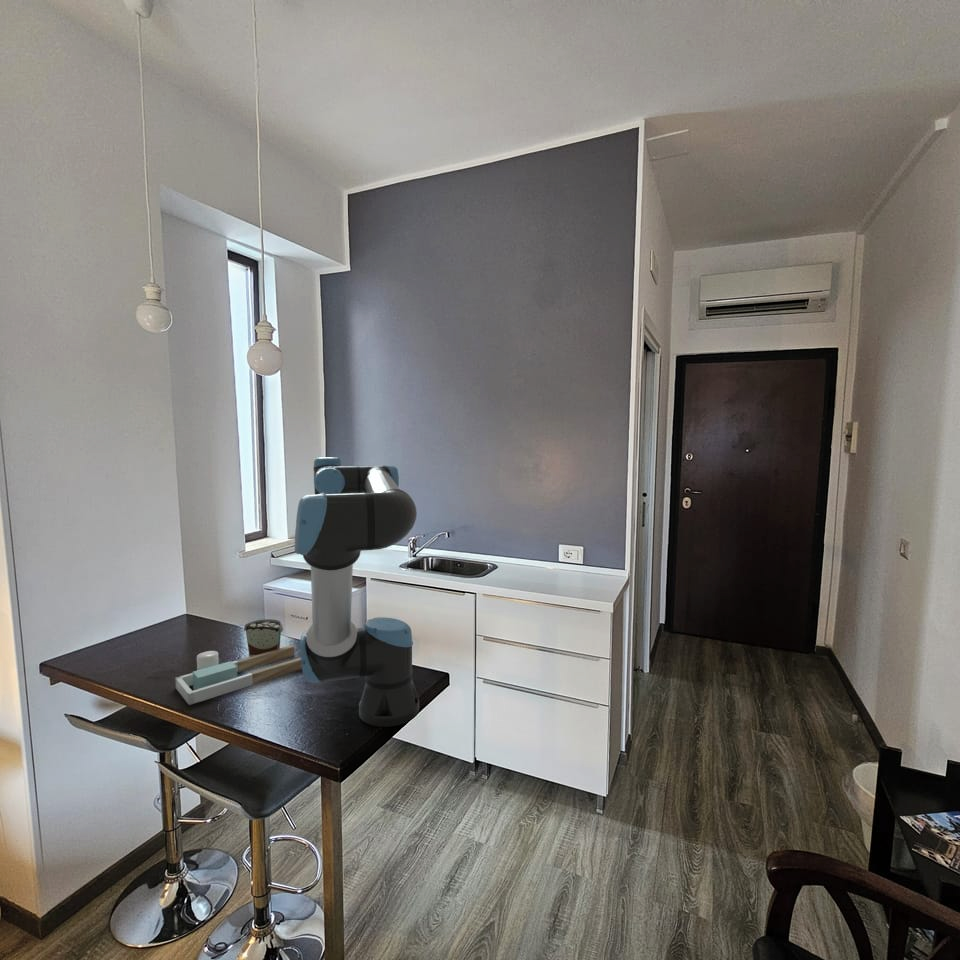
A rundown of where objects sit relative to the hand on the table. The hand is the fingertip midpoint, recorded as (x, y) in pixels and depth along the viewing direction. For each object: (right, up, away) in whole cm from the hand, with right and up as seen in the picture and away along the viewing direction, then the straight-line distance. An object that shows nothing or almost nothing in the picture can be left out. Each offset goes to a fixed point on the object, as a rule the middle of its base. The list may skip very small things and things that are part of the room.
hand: (330, 591), depth 155 cm
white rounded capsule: (-36, -24, 0) cm, 43 cm away
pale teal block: (-28, -25, -5) cm, 38 cm away
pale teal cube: (-32, -25, -8) cm, 41 cm away
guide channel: (-18, -24, +4) cm, 30 cm away
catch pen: (-30, -25, -7) cm, 39 cm away
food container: (-25, -23, +16) cm, 37 cm away
